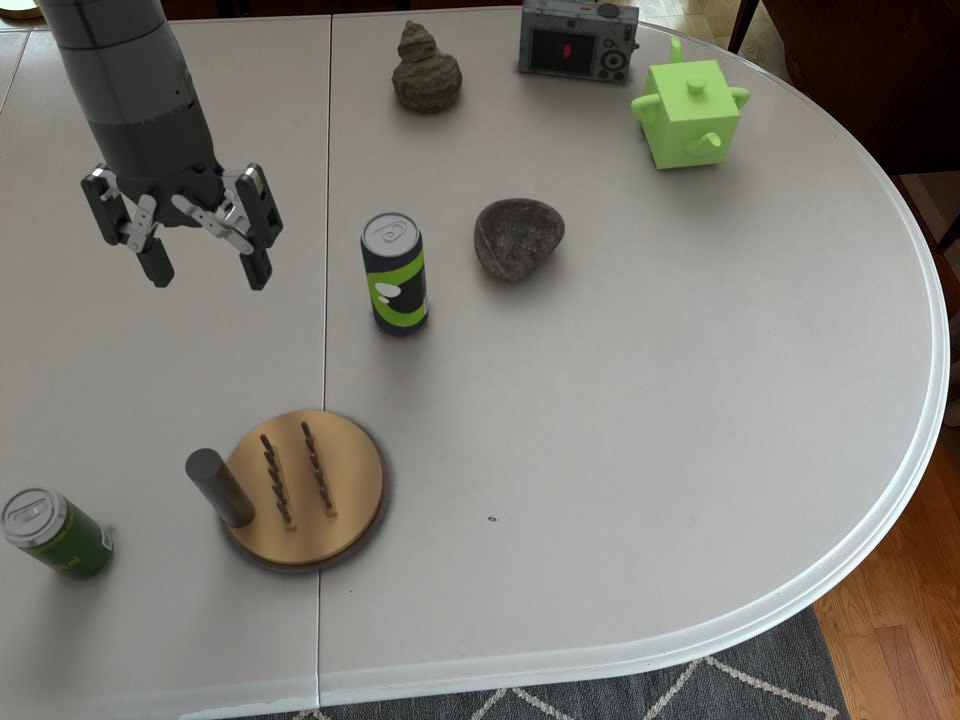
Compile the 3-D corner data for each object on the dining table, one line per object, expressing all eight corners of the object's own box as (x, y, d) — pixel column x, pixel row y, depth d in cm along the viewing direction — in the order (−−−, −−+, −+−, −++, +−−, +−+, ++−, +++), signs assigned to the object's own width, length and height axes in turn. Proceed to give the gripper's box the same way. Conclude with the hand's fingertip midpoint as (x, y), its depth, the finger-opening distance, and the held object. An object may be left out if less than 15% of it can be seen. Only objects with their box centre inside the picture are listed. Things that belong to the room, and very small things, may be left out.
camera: (634, 67, 114) (647, 5, 105) (632, 86, 112) (645, 24, 103) (521, 54, 115) (525, -8, 106) (517, 72, 113) (521, 10, 104)
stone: (561, 293, 93) (566, 268, 89) (471, 289, 93) (471, 263, 89) (561, 220, 99) (565, 192, 95) (476, 216, 99) (476, 188, 95)
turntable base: (239, 599, 75) (236, 596, 74) (207, 444, 83) (203, 440, 82) (410, 539, 78) (409, 535, 77) (363, 396, 86) (362, 390, 85)
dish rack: (240, 588, 74) (198, 545, 63) (209, 442, 82) (166, 380, 70) (403, 532, 77) (391, 481, 66) (358, 395, 85) (341, 328, 73)
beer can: (103, 517, 79) (48, 471, 69) (125, 561, 77) (71, 519, 66) (50, 548, 77) (-15, 505, 67) (71, 593, 75) (7, 556, 65)
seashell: (466, 20, 109) (394, 16, 109) (464, 26, 99) (384, 22, 98) (464, 105, 114) (394, 102, 114) (461, 119, 104) (385, 116, 103)
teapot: (658, 92, 111) (675, 26, 102) (746, 130, 107) (772, 65, 98) (606, 158, 104) (619, 94, 95) (698, 201, 101) (721, 138, 92)
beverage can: (400, 285, 94) (389, 199, 81) (439, 314, 92) (434, 230, 79) (363, 318, 91) (345, 235, 78) (402, 349, 89) (391, 268, 76)
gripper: (16, 122, 53) (114, 309, 64) (211, 119, 51) (278, 315, 61) (75, 75, 59) (156, 255, 69) (254, 70, 56) (309, 258, 67)
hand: (213, 283), depth 65 cm, fingers open, 8 cm apart
